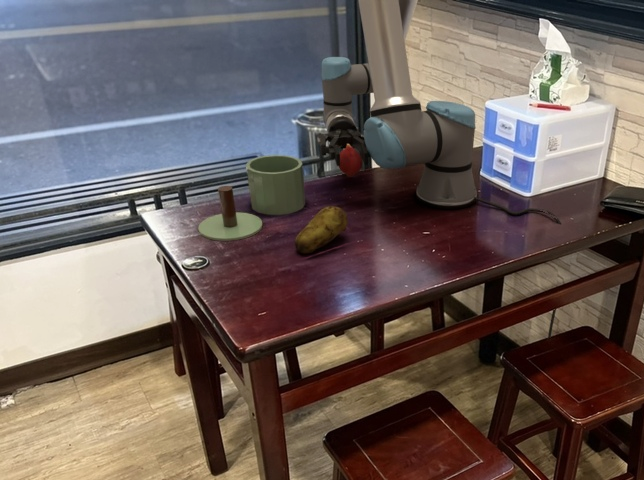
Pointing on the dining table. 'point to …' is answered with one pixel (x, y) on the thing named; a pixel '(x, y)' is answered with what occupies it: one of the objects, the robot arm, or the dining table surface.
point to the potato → (321, 229)
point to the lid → (229, 220)
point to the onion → (350, 161)
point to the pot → (276, 184)
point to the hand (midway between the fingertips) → (352, 159)
